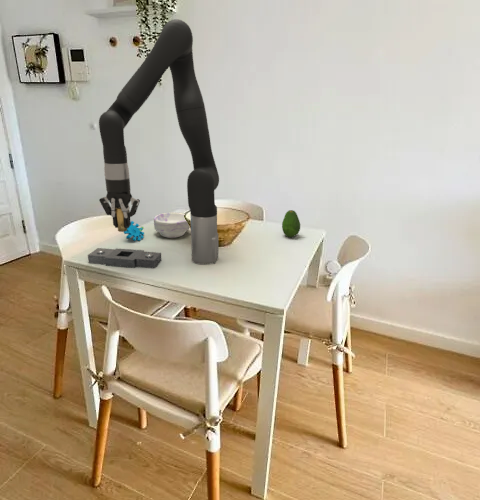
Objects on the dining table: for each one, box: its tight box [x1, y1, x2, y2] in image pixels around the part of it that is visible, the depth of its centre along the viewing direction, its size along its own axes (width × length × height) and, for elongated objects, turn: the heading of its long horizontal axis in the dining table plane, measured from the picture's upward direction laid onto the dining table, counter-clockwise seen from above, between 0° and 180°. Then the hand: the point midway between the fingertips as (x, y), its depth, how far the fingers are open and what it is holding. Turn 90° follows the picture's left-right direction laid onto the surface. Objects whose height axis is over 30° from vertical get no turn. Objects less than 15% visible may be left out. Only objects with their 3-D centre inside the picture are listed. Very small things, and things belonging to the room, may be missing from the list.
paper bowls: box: [153, 212, 191, 239], centre depth 154 cm, size 15×15×8 cm
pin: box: [116, 207, 127, 233], centre depth 121 cm, size 3×3×8 cm
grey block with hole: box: [87, 247, 162, 269], centre depth 126 cm, size 24×9×4 cm, turn 82°
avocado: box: [281, 209, 301, 238], centre depth 154 cm, size 8×8×12 cm
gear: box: [123, 220, 145, 242], centre depth 149 cm, size 11×6×10 cm
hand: (122, 227), depth 122 cm, fingers closed on pin, 3 cm apart
